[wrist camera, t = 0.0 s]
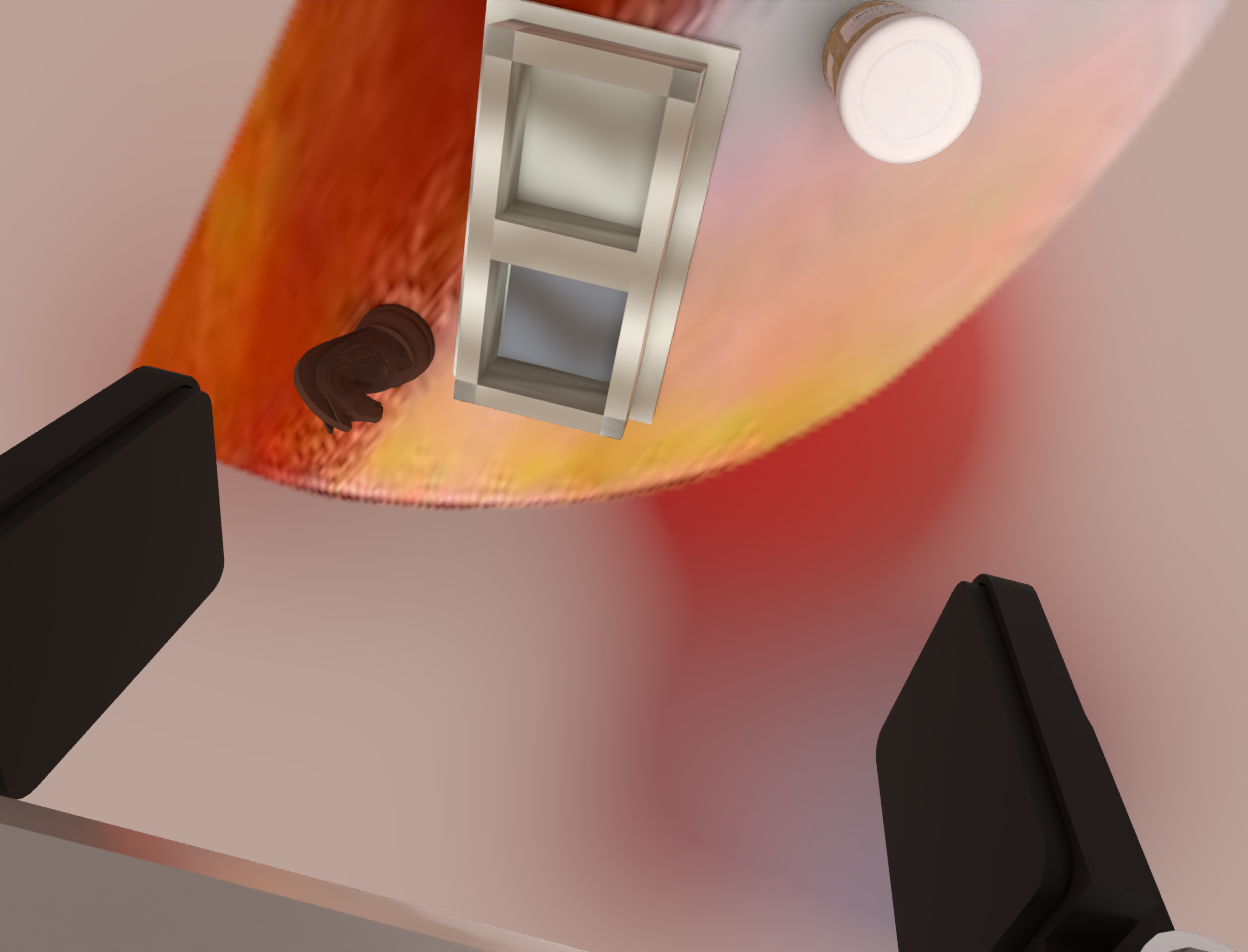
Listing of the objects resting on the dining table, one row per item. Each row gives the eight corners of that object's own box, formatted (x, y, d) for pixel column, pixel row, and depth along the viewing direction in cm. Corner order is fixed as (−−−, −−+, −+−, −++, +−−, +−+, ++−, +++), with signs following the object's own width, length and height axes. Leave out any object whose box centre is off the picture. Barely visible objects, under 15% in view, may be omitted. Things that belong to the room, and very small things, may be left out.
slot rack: (493, -8, 41) (460, -4, 36) (740, 49, 40) (735, 60, 36) (458, 368, 51) (429, 406, 47) (653, 416, 51) (641, 458, 47)
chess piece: (404, 390, 53) (332, 472, 44) (340, 330, 51) (252, 404, 43) (450, 345, 51) (384, 422, 42) (385, 281, 49) (303, 348, 41)
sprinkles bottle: (810, 96, 41) (821, 150, 29) (840, -12, 38) (864, 1, 27) (905, 117, 41) (953, 179, 29) (940, 10, 38) (1008, 31, 27)
